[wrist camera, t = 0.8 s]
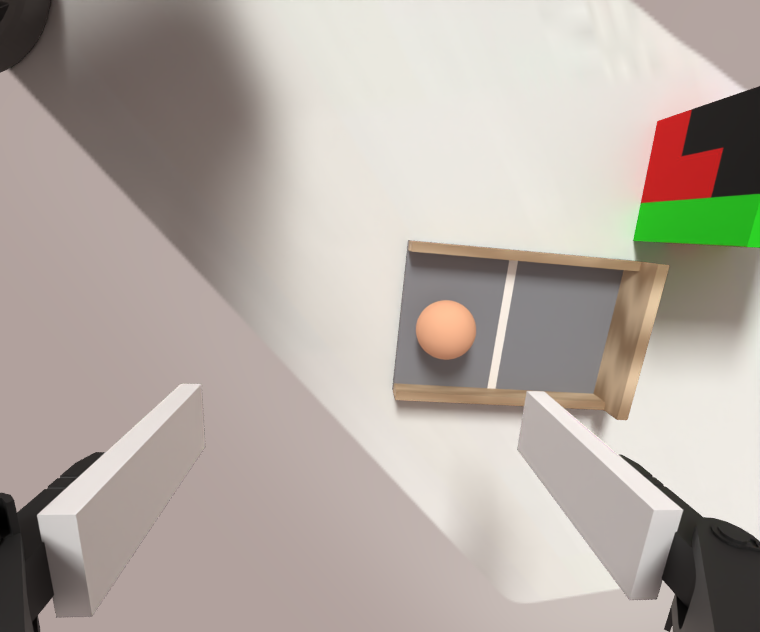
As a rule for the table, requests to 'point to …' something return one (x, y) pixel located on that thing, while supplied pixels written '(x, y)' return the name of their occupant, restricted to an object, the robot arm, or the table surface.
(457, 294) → the tray
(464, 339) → the ball
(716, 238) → the puzzle toy
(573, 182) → the table surface
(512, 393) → the divided wooden tray
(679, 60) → the table surface
